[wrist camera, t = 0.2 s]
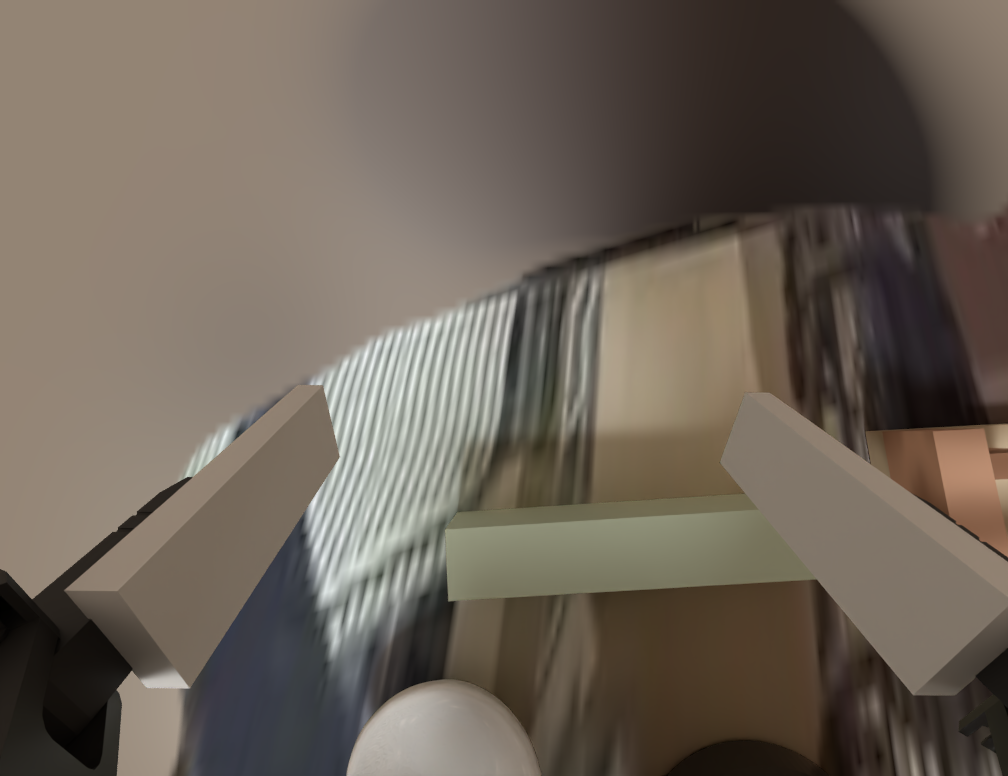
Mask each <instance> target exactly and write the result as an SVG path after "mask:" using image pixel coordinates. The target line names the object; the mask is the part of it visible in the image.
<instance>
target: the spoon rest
mask: <svg viewBox="0 0 1008 776" xmlns="http://www.w3.org/2000/svg"><path fill="white" fill-rule="evenodd" d="M346 776H542V775H541V770H540V766H539V762H538V759H537V756H536V753H535V750H534V748H533V745H532V743H531V741H530V739H529V737H528V735H527V733H526V731H525V729H524V728H523V726H522V725H521V723H520V722H519V720H518V719H517V718H516V716H515V715H514V714H513V713H512V712H511V710H510V709H509V708H508V707H507V706H506V705H505V704H504V703H503V702H502V701H500V700H499V699H498V698H497V697H495V696H494V695H493V694H491V693H490V692H488V691H487V690H485V689H483V688H481V687H479V686H477V685H474V684H472V683H469V682H465V681H461V680H455V679H443V680H436V681H428V682H424V683H420V684H417V685H414V686H411V687H409V688H407V689H405V690H403V691H401V692H399V693H398V694H396V695H394V696H393V697H392V698H390V699H389V700H388V701H387V702H385V703H384V704H383V705H382V706H381V707H380V708H379V709H378V710H377V711H376V712H375V713H374V714H373V715H372V717H371V718H370V719H369V720H368V721H367V723H366V724H365V726H364V727H363V729H362V731H361V732H360V734H359V736H358V738H357V740H356V743H355V745H354V748H353V750H352V754H351V757H350V760H349V765H348V769H347V775H346Z"/></svg>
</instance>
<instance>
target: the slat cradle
mask: <svg viewBox="0 0 1008 776" xmlns="http://www.w3.org/2000/svg"><path fill="white" fill-rule="evenodd" d="M865 433H866V439H867V445H868V450H869V456H870V462H871V465H872V466H874V467H875V468H876V469H878V470H879V471H881V472H882V473H884V474H885V475H886V476H888V477H889V478H891V479H892V480H893V481H895V482H896V483H898V484H899V485H900V486H902V487H903V488H905V489H906V490H907V491H909V492H911V493H912V494H914V495H916V496H918V497H920V498H922V499H924V500H926V501H928V502H930V503H931V504H933V505H934V506H935V507H937V508H938V509H940V510H941V511H943V512H944V513H945V514H947V515H948V516H950V517H951V518H953V519H954V520H955V521H956V524H957V525H962V526H964V527H965V528H967V529H968V530H970V531H971V532H972V533H974V534H975V535H977V536H978V537H979V540H980V541H981V542H987V543H988V544H990V545H991V546H992V547H994V548H995V549H997V550H998V551H1000V552H1001V553H1002V554H1004V555H1005V556H1007V557H1008V424H990V425H972V426H953V427H935V428H917V429H898V430H880V431H865Z"/></svg>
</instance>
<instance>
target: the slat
mask: <svg viewBox="0 0 1008 776" xmlns="http://www.w3.org/2000/svg"><path fill="white" fill-rule="evenodd" d="M445 541H446V562H447V583H448V601H461V600H478V599H495V598H512V597H529V596H546V595H563V594H579V593H596V592H613V591H630V590H647V589H664V588H681V587H697V586H714V585H731V584H748V583H765V582H782V581H799V580H815V579H816V578H815V577H814V575H813V574H812V573H811V572H810V571H809V569H808V568H807V567H806V566H805V565H804V563H803V562H802V561H801V560H800V558H799V557H798V556H797V555H796V554H795V552H794V551H793V550H792V549H791V548H790V546H789V545H788V544H787V543H786V542H785V540H784V539H783V538H782V537H781V536H780V534H779V533H778V532H777V531H776V530H775V528H774V527H773V526H772V525H771V524H770V522H769V521H768V520H767V519H766V518H765V516H764V515H763V514H762V513H761V512H760V510H759V509H758V508H757V507H756V506H755V504H754V503H753V502H752V501H751V500H750V498H749V497H748V496H747V495H746V494H745V493H744V494H729V495H713V496H698V497H682V498H667V499H651V500H636V501H620V502H605V503H589V504H574V505H558V506H543V507H527V508H512V509H497V510H481V511H466V512H457V513H456V515H455V516H454V518H453V519H452V520H451V522H450V523H449V525H448V526H447V527H446V529H445Z"/></svg>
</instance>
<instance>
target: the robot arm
mask: <svg viewBox="0 0 1008 776" xmlns="http://www.w3.org/2000/svg"><path fill="white" fill-rule="evenodd" d="M339 457H340V456H339V452H338V448H337V443H336V439H335V435H334V431H333V426H332V422H331V418H330V414H329V410H328V405H327V401H326V397H325V393H324V388H323V385H297V386H296V387H295V388H294V389H293V390H292V391H291V392H289V393H288V394H287V395H286V396H285V397H284V398H283V399H281V400H280V401H279V402H278V403H277V404H276V405H275V406H274V407H272V408H271V409H270V410H269V411H268V412H267V413H266V414H264V415H263V416H262V417H261V418H260V419H259V420H258V421H256V422H255V423H254V424H253V425H252V426H251V427H250V428H248V429H247V430H246V431H245V432H244V433H243V434H242V435H241V436H239V437H238V438H237V439H236V440H235V441H234V442H233V443H231V444H230V445H229V446H228V447H227V448H226V449H225V450H223V451H222V452H221V453H220V454H219V455H218V456H217V457H215V458H214V459H213V460H212V461H211V462H210V463H209V464H208V465H206V466H205V467H204V468H203V469H202V470H201V471H200V472H198V473H197V474H196V475H195V476H194V477H187V478H185V479H183V480H181V481H180V482H178V483H176V484H174V485H172V486H171V487H169V488H167V489H165V490H164V491H162V492H160V493H159V494H158V495H156V496H155V497H154V498H153V499H152V500H151V501H149V502H148V503H147V504H146V505H144V506H143V507H142V508H141V509H140V510H139V511H137V515H136V516H131V517H130V518H129V519H128V520H127V521H125V522H124V523H123V524H122V525H121V526H119V527H118V531H117V532H112V533H111V534H110V535H109V536H108V537H106V538H105V539H104V540H103V541H102V542H100V543H99V544H98V545H97V546H95V547H94V548H93V549H92V550H91V551H90V552H89V553H87V554H86V555H85V556H84V557H82V558H81V559H80V560H79V561H78V562H77V563H75V564H74V565H73V566H72V567H70V568H69V569H68V570H67V571H66V572H64V573H63V574H62V575H61V576H60V577H59V578H57V579H56V580H55V581H54V582H53V583H51V584H50V585H49V586H48V587H47V588H45V589H44V590H43V591H42V592H41V593H40V594H38V595H37V596H36V597H35V598H34V599H31V598H30V597H29V596H28V595H27V594H26V593H25V591H24V590H23V589H22V588H21V587H20V586H19V585H18V584H17V583H16V582H15V581H14V580H13V579H12V577H11V576H10V575H9V574H8V573H7V572H5V571H3V570H1V569H0V776H117V763H118V750H119V734H120V722H121V708H122V703H121V699H120V695H119V693H118V692H117V690H116V689H117V688H118V687H119V685H120V684H121V683H122V682H123V681H124V679H125V678H126V677H127V676H128V674H129V673H130V672H131V671H133V672H134V673H135V675H136V676H137V677H138V678H139V679H140V681H141V682H142V683H143V684H144V685H145V686H146V688H190V687H191V686H192V684H193V682H194V681H195V679H196V678H197V676H198V675H199V673H200V672H201V670H202V669H203V667H204V665H205V664H206V662H207V661H208V659H209V658H210V656H211V655H212V653H213V652H214V650H215V649H216V647H217V645H218V644H219V642H220V641H221V639H222V638H223V636H224V635H225V633H226V632H227V630H228V628H229V627H230V625H231V624H232V622H233V621H234V619H235V618H236V616H237V615H238V613H239V612H240V610H241V608H242V607H243V605H244V604H245V602H246V601H247V599H248V598H249V596H250V595H251V593H252V592H253V590H254V588H255V587H256V585H257V584H258V582H259V581H260V579H261V578H262V576H263V575H264V573H265V571H266V570H267V568H268V567H269V565H270V564H271V562H272V561H273V559H274V558H275V556H276V555H277V553H278V551H279V550H280V548H281V547H282V545H283V544H284V542H285V541H286V539H287V538H288V536H289V535H290V533H291V531H292V530H293V528H294V527H295V525H296V524H297V522H298V521H299V519H300V518H301V516H302V514H303V513H304V511H305V510H306V508H307V507H308V505H309V504H310V502H311V501H312V499H313V498H314V496H315V494H316V493H317V491H318V490H319V488H320V487H321V485H322V484H323V482H324V481H325V479H326V477H327V476H328V474H329V473H330V471H331V470H332V468H333V467H334V465H335V464H336V462H337V461H338V459H339ZM720 464H721V465H722V466H723V467H724V468H725V470H726V471H727V472H728V473H729V474H730V476H731V477H732V478H733V479H734V480H735V482H736V483H737V484H738V485H739V486H740V488H741V489H742V490H743V491H744V492H745V494H746V495H747V496H748V497H749V498H750V500H751V501H752V502H753V503H754V504H755V506H756V507H757V508H758V509H759V510H760V512H761V513H762V514H763V515H764V516H765V518H766V519H767V520H768V521H769V522H770V524H771V525H772V526H773V527H774V528H775V530H776V531H777V532H778V533H779V534H780V536H781V537H782V538H783V539H784V540H785V542H786V543H787V544H788V545H789V546H790V548H791V549H792V550H793V551H794V552H795V554H796V555H797V556H798V557H799V558H800V560H801V561H802V562H803V563H804V565H805V566H806V567H807V568H808V569H809V571H810V572H811V573H812V574H813V575H814V577H815V578H816V579H817V580H818V581H819V583H820V584H821V585H822V586H823V587H824V589H825V590H826V591H827V592H828V593H829V595H830V596H831V597H832V598H833V599H834V601H835V602H836V603H837V604H838V605H839V607H840V608H841V609H842V610H843V611H844V613H845V614H846V615H847V616H848V617H849V619H850V620H851V621H852V622H853V623H854V625H855V626H856V627H857V628H858V629H859V631H860V632H861V633H862V634H863V635H864V637H865V638H866V639H867V640H868V641H869V643H870V644H871V645H872V646H873V647H874V649H875V650H876V651H877V652H878V653H879V655H880V656H881V657H882V658H883V659H884V661H885V662H886V663H887V664H888V665H889V667H890V668H891V669H892V670H893V671H894V673H895V674H896V675H897V676H898V677H899V679H900V680H901V681H902V682H903V683H904V685H905V686H906V687H907V688H908V689H909V691H910V692H911V693H912V694H913V695H956V694H957V693H958V692H959V691H961V690H962V689H963V688H964V687H965V686H966V685H968V684H969V683H970V682H971V681H972V680H973V679H975V678H976V677H977V678H978V679H979V680H980V681H981V682H982V683H983V684H984V685H985V686H986V687H987V688H988V689H989V690H990V691H991V692H992V693H993V695H992V696H991V697H990V698H988V699H987V700H986V701H984V702H983V703H982V704H981V705H979V706H978V707H977V708H976V709H974V710H973V711H972V712H971V713H969V714H968V715H967V716H965V717H964V718H963V719H962V720H960V721H959V732H960V733H962V734H964V735H965V736H967V737H968V736H969V735H971V734H972V733H973V732H975V731H976V730H977V729H979V728H980V727H982V726H986V727H989V729H990V732H991V734H990V735H989V736H987V737H986V738H985V739H984V740H983V741H982V742H981V745H983V746H985V747H986V748H988V749H990V750H992V751H993V752H995V753H996V754H997V757H998V761H999V764H1000V768H1001V771H1002V775H1003V776H1008V557H1007V556H1005V555H1004V554H1002V553H1001V552H1000V551H998V550H997V549H995V548H994V547H992V546H991V545H990V544H988V543H987V542H981V541H980V540H979V537H978V536H977V535H975V534H974V533H972V532H971V531H970V530H968V529H967V528H965V527H964V526H962V525H957V524H956V521H955V520H954V519H953V518H951V517H950V516H948V515H947V514H945V513H944V512H943V511H941V510H940V509H938V508H937V507H935V506H934V505H933V504H931V503H930V502H928V501H926V500H924V499H922V498H920V497H918V496H916V495H914V494H912V493H911V492H909V491H907V490H906V489H905V488H903V487H902V486H900V485H899V484H898V483H896V482H895V481H893V480H892V479H891V478H889V477H888V476H886V475H885V474H884V473H882V472H881V471H879V470H878V469H876V468H875V467H874V466H872V465H871V464H869V463H868V462H867V461H865V460H864V459H862V458H861V457H860V456H858V455H857V454H855V453H854V452H853V451H851V450H850V449H848V448H847V447H846V446H844V445H843V444H841V443H840V442H838V441H837V440H836V439H834V438H833V437H831V436H830V435H829V434H827V433H826V432H824V431H823V430H822V429H820V428H819V427H817V426H816V425H815V424H813V423H812V422H810V421H809V420H808V419H806V418H805V417H803V416H802V415H801V414H799V413H798V412H796V411H795V410H793V409H792V408H791V407H789V406H788V405H786V404H785V403H784V402H782V401H781V400H779V399H778V398H777V397H775V396H774V395H772V394H771V393H763V392H745V394H744V397H743V400H742V403H741V405H740V408H739V411H738V414H737V416H736V419H735V422H734V425H733V427H732V430H731V433H730V436H729V438H728V441H727V444H726V446H725V449H724V452H723V455H722V457H721V460H720ZM667 776H829V775H828V774H827V773H826V772H825V771H823V770H822V769H821V768H820V767H818V766H817V765H816V764H814V763H813V762H811V761H810V760H808V759H806V758H805V757H803V756H801V755H799V754H797V753H795V752H793V751H791V750H788V749H786V748H783V747H780V746H777V745H774V744H770V743H765V742H758V741H731V742H725V743H721V744H717V745H713V746H710V747H708V748H705V749H703V750H701V751H698V752H697V753H695V754H693V755H691V756H690V757H688V758H687V759H685V760H684V761H682V762H681V763H680V764H679V765H677V766H676V767H675V768H674V769H673V770H672V771H671V772H670V773H669V774H668V775H667Z"/></svg>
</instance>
